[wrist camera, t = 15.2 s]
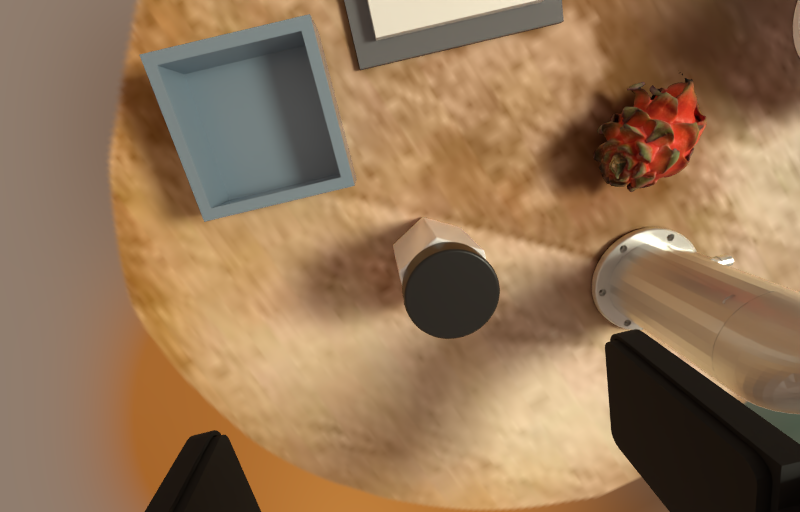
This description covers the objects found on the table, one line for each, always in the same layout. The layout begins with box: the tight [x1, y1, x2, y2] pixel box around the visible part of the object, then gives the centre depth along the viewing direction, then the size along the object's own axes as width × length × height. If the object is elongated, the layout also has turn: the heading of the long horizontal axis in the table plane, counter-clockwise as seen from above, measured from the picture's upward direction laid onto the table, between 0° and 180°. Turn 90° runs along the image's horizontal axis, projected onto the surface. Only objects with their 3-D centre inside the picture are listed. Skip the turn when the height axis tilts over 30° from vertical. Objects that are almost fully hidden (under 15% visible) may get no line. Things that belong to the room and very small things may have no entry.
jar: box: [393, 217, 500, 339], centre depth 39 cm, size 9×8×12 cm
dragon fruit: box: [593, 72, 706, 192], centre depth 39 cm, size 8×8×12 cm
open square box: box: [140, 14, 356, 222], centre depth 37 cm, size 14×14×6 cm
